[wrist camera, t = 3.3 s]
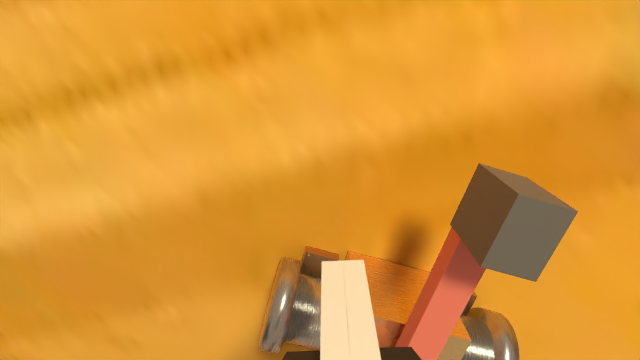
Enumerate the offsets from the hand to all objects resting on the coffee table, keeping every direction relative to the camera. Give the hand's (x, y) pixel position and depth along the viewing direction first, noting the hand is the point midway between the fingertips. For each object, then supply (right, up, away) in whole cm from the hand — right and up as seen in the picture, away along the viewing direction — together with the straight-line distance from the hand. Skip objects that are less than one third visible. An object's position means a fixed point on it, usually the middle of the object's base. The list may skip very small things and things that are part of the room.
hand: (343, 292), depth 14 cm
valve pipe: (+4, -5, +15) cm, 16 cm away
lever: (+5, -2, +6) cm, 9 cm away
